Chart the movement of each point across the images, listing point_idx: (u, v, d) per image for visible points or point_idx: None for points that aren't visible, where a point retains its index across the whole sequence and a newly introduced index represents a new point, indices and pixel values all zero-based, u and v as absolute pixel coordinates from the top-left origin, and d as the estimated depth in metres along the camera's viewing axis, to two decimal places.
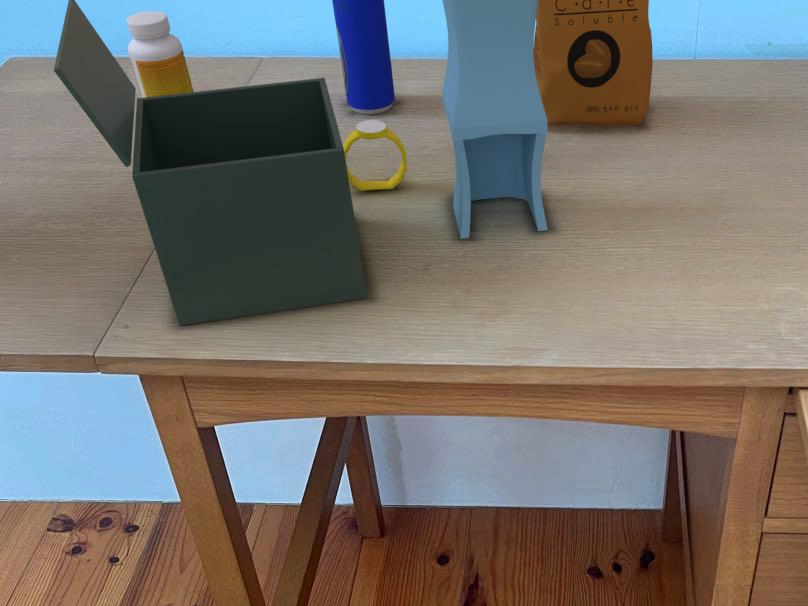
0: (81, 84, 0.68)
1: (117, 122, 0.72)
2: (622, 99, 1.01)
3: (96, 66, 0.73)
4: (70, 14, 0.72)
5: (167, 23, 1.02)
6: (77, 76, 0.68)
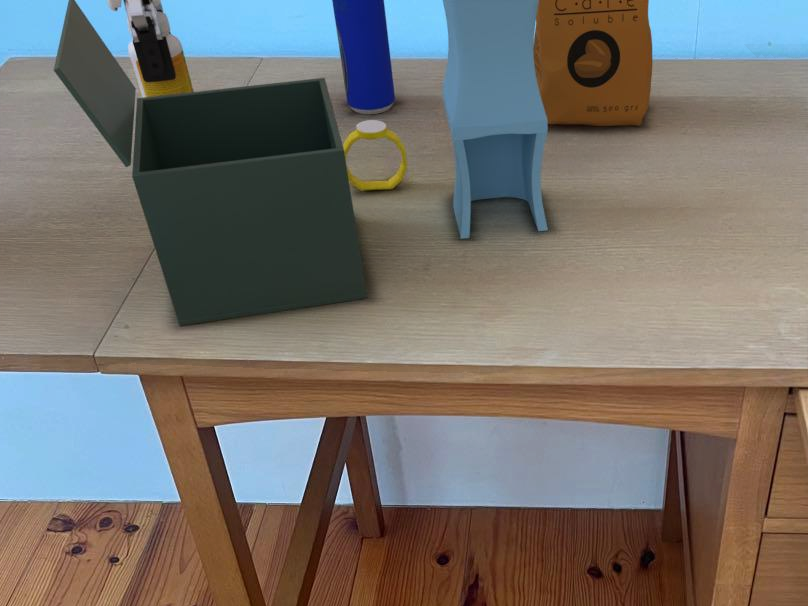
0: (81, 84, 0.68)
1: (117, 122, 0.72)
2: (622, 99, 1.01)
3: (96, 66, 0.73)
4: (70, 14, 0.72)
5: (167, 23, 1.02)
6: (77, 76, 0.68)
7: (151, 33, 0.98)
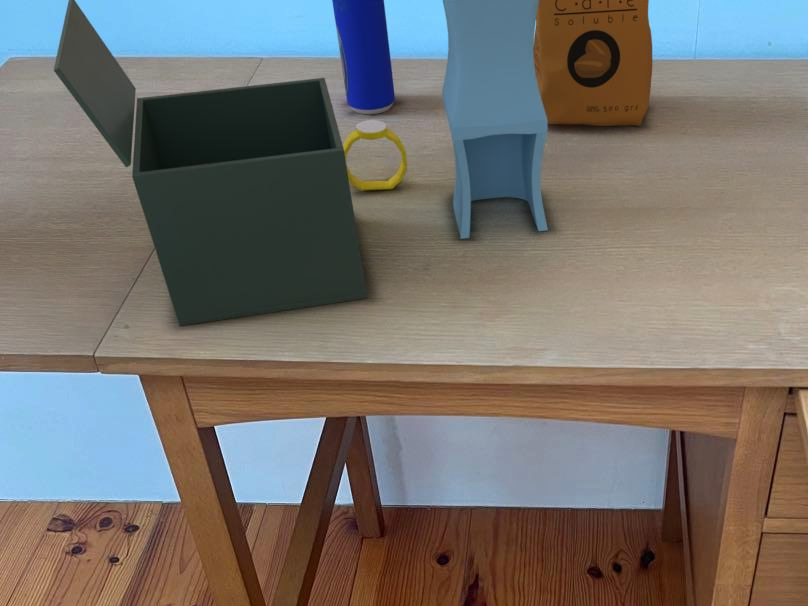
0: (81, 84, 0.68)
1: (117, 122, 0.72)
2: (622, 99, 1.01)
3: (96, 66, 0.73)
4: (70, 14, 0.72)
5: None
6: (77, 76, 0.68)
7: None
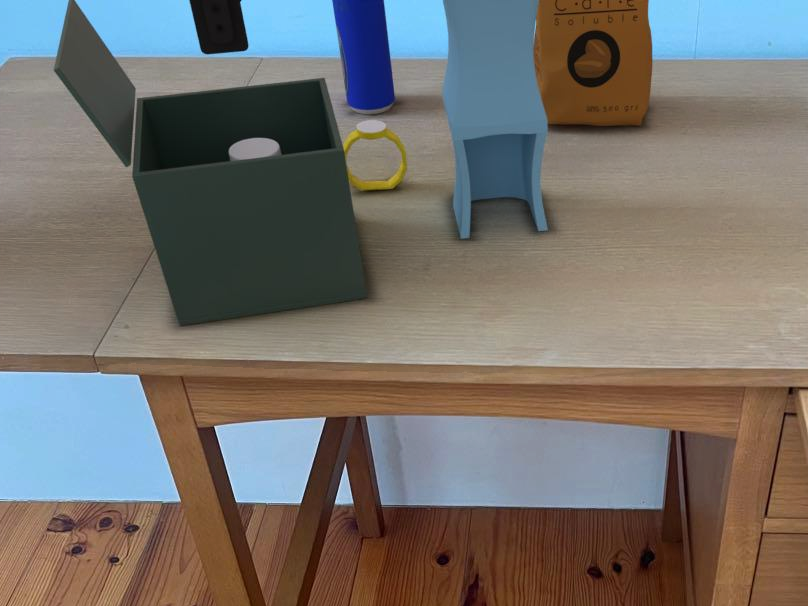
0: (81, 84, 0.68)
1: (117, 122, 0.72)
2: (622, 99, 1.01)
3: (96, 66, 0.73)
4: (70, 14, 0.72)
5: None
6: (77, 76, 0.68)
7: None
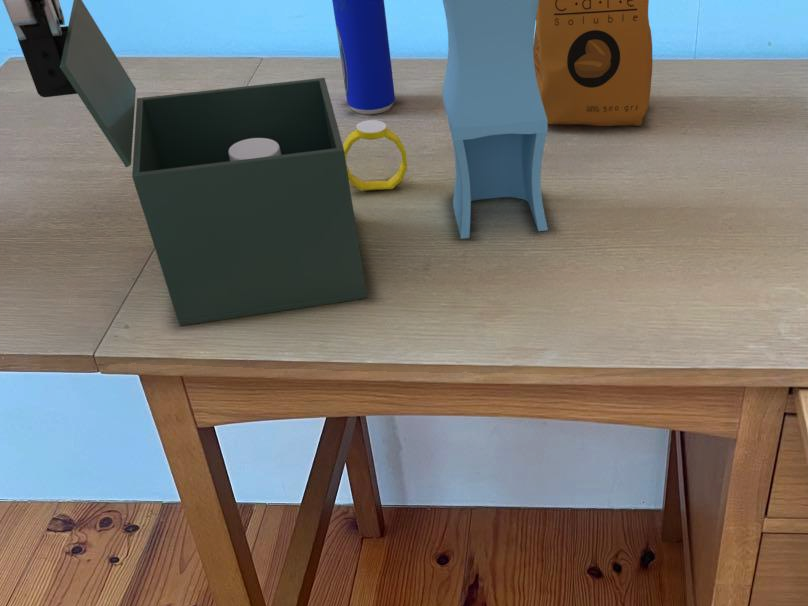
0: (86, 82, 0.68)
1: (119, 121, 0.72)
2: (622, 99, 1.01)
3: (100, 65, 0.73)
4: (75, 12, 0.72)
5: None
6: (82, 74, 0.68)
7: (42, 26, 0.67)
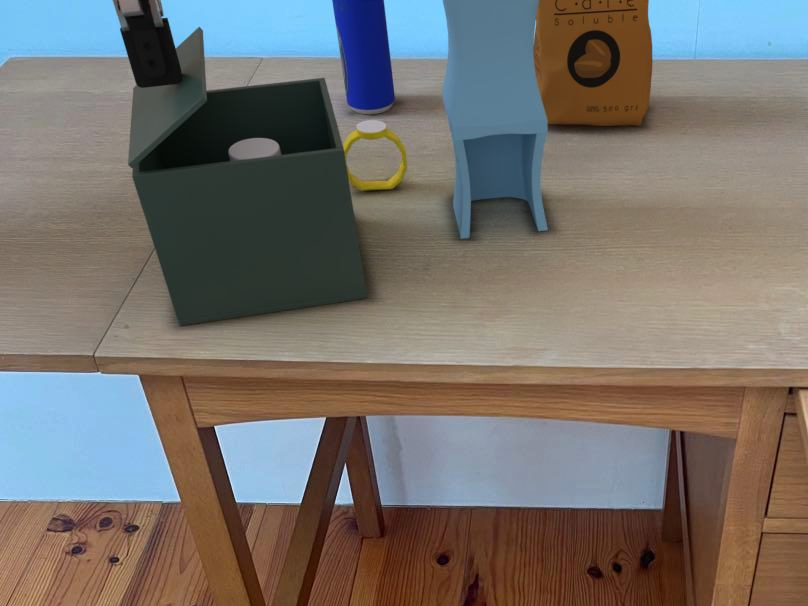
0: None
1: None
2: (622, 99, 1.01)
3: None
4: (203, 47, 0.76)
5: None
6: None
7: (147, 17, 0.68)
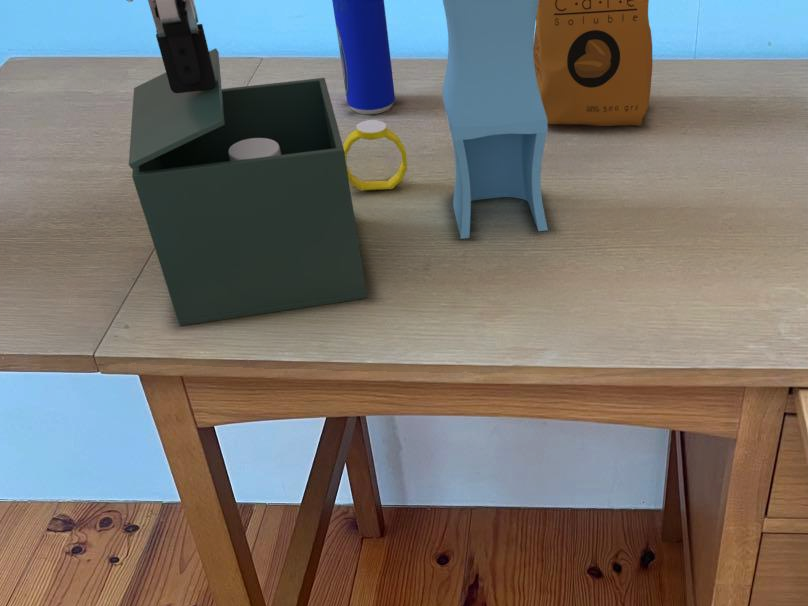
0: None
1: None
2: (622, 99, 1.01)
3: None
4: (219, 69, 0.77)
5: None
6: None
7: (184, 24, 0.69)
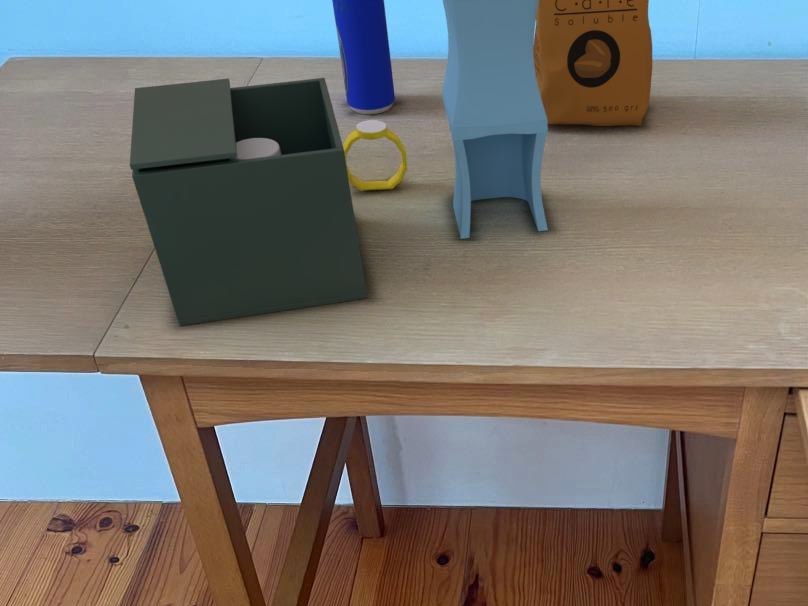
0: None
1: None
2: (622, 99, 1.01)
3: None
4: (231, 100, 0.79)
5: None
6: None
7: None
